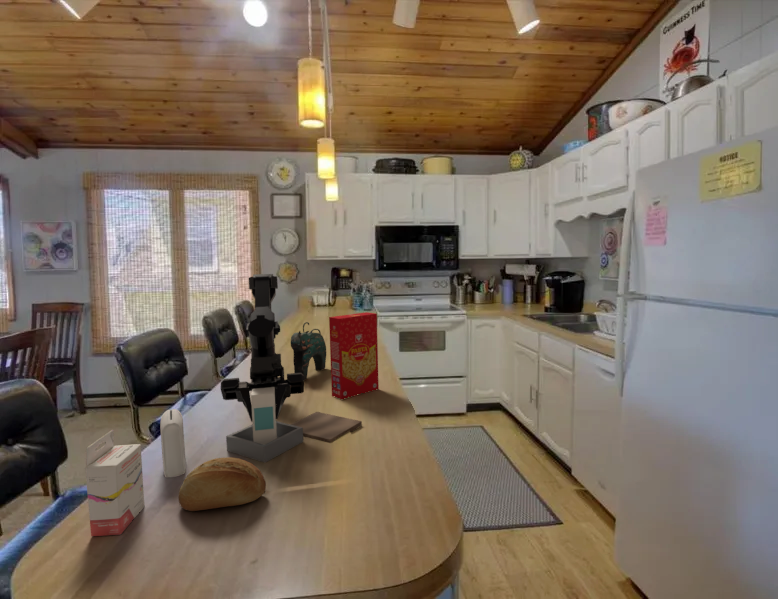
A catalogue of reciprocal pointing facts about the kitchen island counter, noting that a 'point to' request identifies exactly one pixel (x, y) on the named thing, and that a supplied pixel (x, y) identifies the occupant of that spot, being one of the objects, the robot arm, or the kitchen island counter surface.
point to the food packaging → (353, 354)
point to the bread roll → (221, 484)
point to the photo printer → (173, 443)
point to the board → (326, 426)
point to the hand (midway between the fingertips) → (264, 419)
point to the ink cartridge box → (113, 485)
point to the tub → (246, 447)
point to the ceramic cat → (308, 351)
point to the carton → (263, 415)
